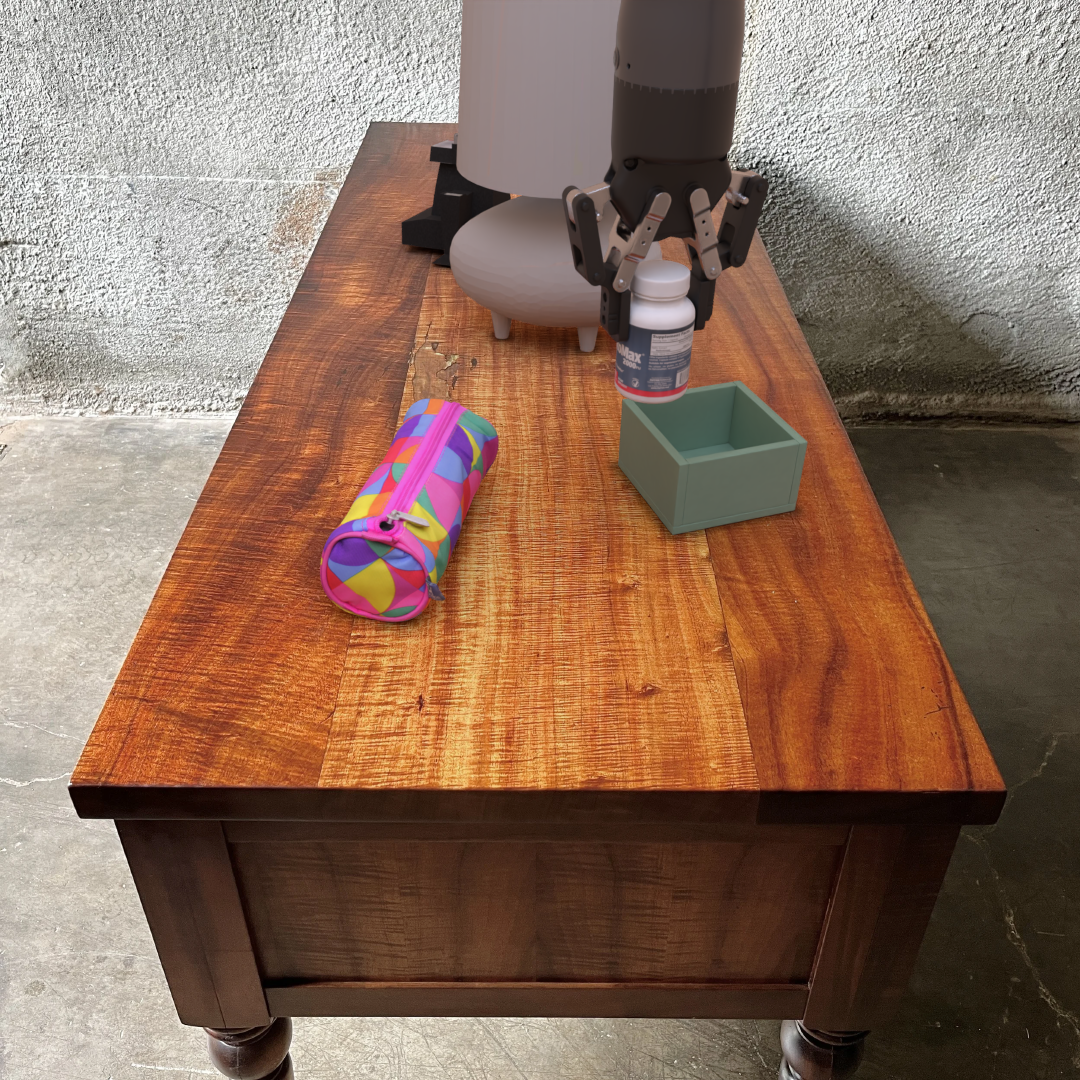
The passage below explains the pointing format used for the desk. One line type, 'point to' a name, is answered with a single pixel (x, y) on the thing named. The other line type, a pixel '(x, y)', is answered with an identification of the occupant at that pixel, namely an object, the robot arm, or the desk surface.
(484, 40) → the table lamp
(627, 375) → the pill bottle
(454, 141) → the camera
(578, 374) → the desk surface
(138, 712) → the desk surface
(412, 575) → the pencil case
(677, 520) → the bin
